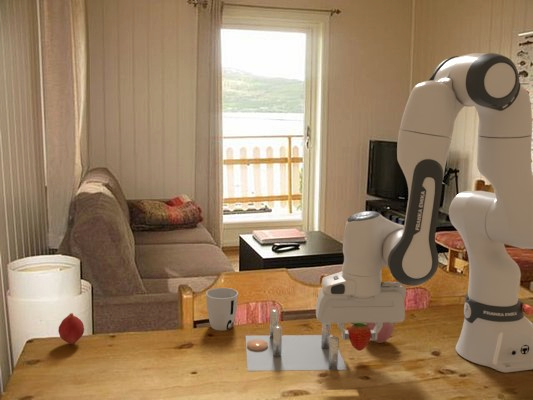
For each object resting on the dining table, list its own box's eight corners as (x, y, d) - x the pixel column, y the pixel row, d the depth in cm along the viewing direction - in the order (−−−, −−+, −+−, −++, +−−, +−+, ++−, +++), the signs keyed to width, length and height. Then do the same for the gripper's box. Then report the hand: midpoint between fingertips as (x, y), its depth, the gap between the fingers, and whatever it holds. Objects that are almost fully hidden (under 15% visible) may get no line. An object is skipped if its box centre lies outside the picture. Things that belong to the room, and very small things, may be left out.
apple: (379, 351, 134) (381, 320, 132) (355, 341, 140) (356, 311, 138) (399, 342, 139) (401, 312, 138) (374, 332, 145) (376, 303, 143)
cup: (232, 337, 140) (233, 300, 138) (202, 334, 141) (202, 297, 140) (240, 324, 148) (241, 289, 146) (211, 321, 149) (211, 286, 147)
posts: (324, 335, 140) (325, 308, 139) (338, 369, 123) (339, 340, 121) (269, 335, 139) (270, 309, 138) (275, 370, 122) (275, 340, 120)
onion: (53, 346, 133) (52, 315, 131) (70, 337, 138) (69, 306, 136) (73, 351, 131) (71, 319, 129) (89, 341, 136) (88, 310, 134)
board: (332, 338, 140) (332, 335, 140) (346, 373, 123) (347, 369, 123) (245, 339, 139) (245, 335, 139) (247, 375, 121) (247, 370, 121)
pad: (267, 341, 136) (267, 339, 136) (268, 350, 131) (268, 348, 131) (246, 341, 135) (246, 339, 135) (247, 351, 131) (247, 348, 130)
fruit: (374, 350, 130) (375, 318, 128) (362, 358, 126) (363, 324, 124) (354, 343, 133) (355, 312, 132) (342, 350, 129) (343, 318, 128)
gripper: (402, 277, 130) (399, 332, 132) (315, 278, 129) (314, 333, 132) (410, 286, 123) (407, 344, 126) (319, 287, 123) (317, 345, 125)
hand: (359, 339), depth 129 cm, fingers closed on fruit, 5 cm apart
